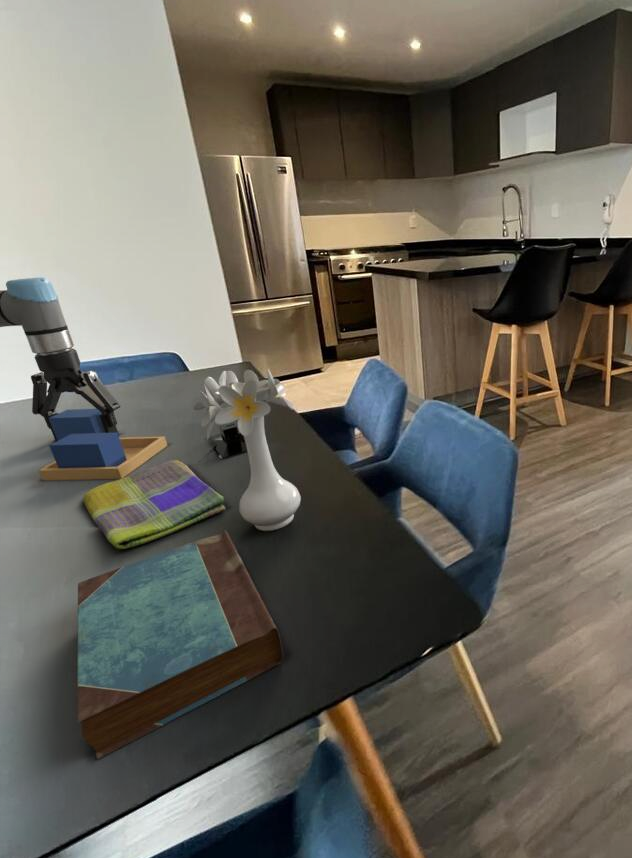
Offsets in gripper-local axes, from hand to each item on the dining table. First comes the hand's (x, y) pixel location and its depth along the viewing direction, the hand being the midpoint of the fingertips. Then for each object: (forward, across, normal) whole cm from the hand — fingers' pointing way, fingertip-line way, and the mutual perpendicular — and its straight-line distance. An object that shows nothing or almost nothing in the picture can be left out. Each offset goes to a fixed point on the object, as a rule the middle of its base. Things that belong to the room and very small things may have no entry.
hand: (88, 439), depth 116 cm
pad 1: (0, 0, 0) cm, 0 cm away
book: (0, -58, +59) cm, 83 cm away
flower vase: (0, -59, +35) cm, 69 cm away
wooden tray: (0, -15, +13) cm, 20 cm away
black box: (0, -38, +5) cm, 38 cm away
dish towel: (0, -36, +30) cm, 47 cm away
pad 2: (0, -15, +17) cm, 22 cm away
